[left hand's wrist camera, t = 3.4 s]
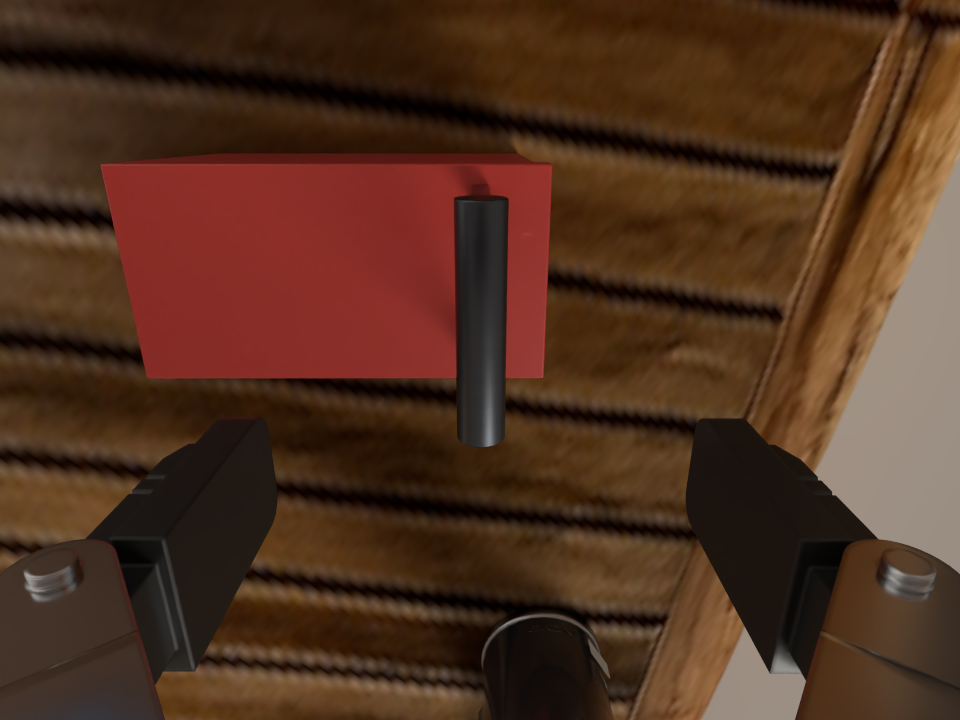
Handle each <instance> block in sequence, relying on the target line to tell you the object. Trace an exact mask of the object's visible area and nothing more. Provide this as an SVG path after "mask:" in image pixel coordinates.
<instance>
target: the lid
mask: <svg viewBox="0 0 960 720" xmlns="http://www.w3.org/2000/svg"><path fill="white" fill-rule="evenodd" d="M101 169H102V174H103V179H104V183H105V188H106V192H107V197H108V201H109V206H110V211H111V215H112V220H113V224H114V229H115V233H116V238H117V243H118V247H119V252H120V256H121V261H122V265H123V270H124V275H125V279H126V284H127V288H128V293H129V297H130V302H131V307H132V311H133V316H134V320H135V325H136V329H137V334H138V339H139V343H140V348H141V352H142V357H143V361H144V366H145V371H146V375H147V378H456V385H457V437H458V439H459V440H460V441H461V442H462V443H463V444H466V445H468V446H472V447H490V446H494V445H497V444H499V443H500V442H502V440H503V439H504V437H505V392H506V378H543V376H544V355H545V331H546V307H547V283H548V259H549V235H550V212H551V188H552V164H550V163H548V162H115V163H103V164H101Z"/></svg>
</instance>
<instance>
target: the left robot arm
mask: <svg viewBox="0 0 960 720" xmlns="http://www.w3.org/2000/svg"><path fill="white" fill-rule="evenodd" d="M132 491H133V492H132V494H128V495H127V496H126V498H125V499H124V500H123V501H122V502H121V503H120V504H119V505H118V506H117V507H116V508H115V509H114V510H113V511H112V512H111V513H110V514H109V515H108V516H107V517H106V518H105V519H104V520H103V521H102V522H101V523H100V524H99V525H98V526H97V527H96V529H95V530H94V531H93V532H92V533H91V534H90V535H89V536H88V537H87V538H86V539H80V540H72V541H67V542H62V543H59V544H55V545H52V546H49V547H46V548H43V549H41V550H38V551H36V552H34V553H32V554H30V555H28V556H26V557H24V558H22V559H20V560H19V561H17V562H16V563H14V564H13V565H11V566H10V567H8V568H7V569H6V570H5V571H3V572H2V573H1V574H0V720H165V719H164V715H163V712H162V708H161V705H160V701H159V698H158V694H157V691H156V687H155V684H156V683H157V681H158V679H159V678H160V676H161V674H162V672H163V671H195V670H196V668H197V666H198V664H199V662H200V660H201V659H202V657H203V655H204V653H205V651H206V649H207V647H208V645H209V643H210V641H211V640H212V638H213V636H214V634H215V632H216V630H217V628H218V626H219V624H220V623H221V621H222V619H223V617H224V615H225V613H226V611H227V609H228V607H229V606H230V604H231V602H232V600H233V598H234V596H235V594H236V592H237V590H238V588H239V587H240V585H241V583H242V581H243V579H244V577H245V575H246V573H247V571H248V570H249V568H250V566H251V564H252V562H253V560H254V558H255V556H256V554H257V553H258V551H259V549H260V547H261V545H262V543H263V541H264V539H265V537H266V535H267V534H268V532H269V530H270V528H271V526H272V524H273V521H274V518H275V514H276V508H277V487H276V480H275V473H274V466H273V459H272V452H271V445H270V438H269V432H268V427H267V424H266V422H265V420H264V419H263V418H219V419H218V420H216V422H215V423H214V424H213V425H212V426H211V427H210V428H209V429H208V430H207V431H206V433H205V434H204V435H203V436H202V437H201V438H200V439H199V440H198V441H197V442H196V443H195V444H188V445H186V446H184V447H183V448H181V449H179V450H177V451H176V452H174V453H172V454H170V455H169V456H167V457H165V458H163V459H162V460H161V461H160V462H159V463H158V464H157V465H156V467H155V468H154V469H153V470H152V471H151V472H150V473H149V474H148V475H147V478H146V479H143V480H142V481H141V482H140V483H139V484H138V485H137V486H136V487H135V488H134V489H133V490H132ZM686 509H687V515H688V519H689V522H690V525H691V527H692V529H693V531H694V532H695V534H696V536H697V538H698V540H699V542H700V544H701V546H702V547H703V549H704V551H705V553H706V555H707V557H708V559H709V561H710V562H711V564H712V566H713V568H714V570H715V572H716V574H717V575H718V577H719V579H720V581H721V583H722V585H723V587H724V589H725V590H726V592H727V594H728V596H729V598H730V600H731V602H732V604H733V605H734V607H735V609H736V611H737V613H738V615H739V617H740V618H741V620H742V622H743V624H744V626H745V628H746V630H747V631H748V633H749V635H750V637H751V639H752V641H753V643H754V645H755V646H756V648H757V650H758V652H759V654H760V656H761V658H762V660H763V661H764V663H765V665H766V667H767V669H768V671H769V673H770V674H802V675H803V676H804V678H805V680H806V684H805V687H804V691H803V694H802V698H801V701H800V705H799V708H798V712H797V715H796V719H795V720H960V574H959V573H958V572H957V571H955V570H954V569H953V568H951V567H950V566H949V565H947V564H946V563H944V562H943V561H941V560H940V559H938V558H936V557H934V556H932V555H930V554H928V553H926V552H924V551H922V550H919V549H917V548H914V547H911V546H908V545H905V544H901V543H897V542H893V541H888V540H879V539H878V538H877V537H876V536H875V535H874V534H873V533H872V532H871V531H870V530H869V529H868V528H867V527H866V526H865V525H864V524H863V523H862V522H861V521H860V520H859V519H858V518H857V517H856V516H855V515H854V514H853V513H852V512H851V511H850V510H849V509H848V508H847V507H846V505H845V504H843V502H842V501H841V500H840V499H839V498H838V497H837V496H834V495H832V491H831V490H830V489H829V488H828V487H827V486H826V485H825V484H824V483H823V482H822V481H818V477H817V476H816V475H815V474H814V473H813V472H812V471H811V470H810V469H809V468H808V467H807V466H806V465H805V464H804V462H803V461H802V460H800V459H799V458H797V457H795V456H793V455H792V454H790V453H788V452H786V451H785V450H783V449H781V448H779V447H778V446H776V445H768V444H767V442H766V441H765V440H764V439H763V438H762V437H761V436H760V435H759V434H758V433H757V432H756V430H755V429H754V428H753V427H752V426H751V425H750V424H749V423H748V422H747V421H746V420H745V419H700V420H699V422H698V423H697V426H696V429H695V434H694V441H693V448H692V454H691V461H690V468H689V475H688V482H687V489H686ZM481 661H482V670H483V706H482V708H481V710H480V711H479V713H478V720H614V719H613V714H612V710H611V705H610V701H609V697H608V692H607V687H606V683H605V678H604V674H603V670H604V671H605V673H606V674H607V675H608V677H609V678H610V676H609V672H608V668H607V664H606V662H605V661H604V660H603V658H602V657H601V656H600V650H599V646H598V642H597V639H596V637H595V634H594V633H593V631H592V630H591V629H590V627H589V626H588V625H587V624H586V623H585V622H583V621H582V620H581V619H579V618H578V617H576V616H574V615H572V614H570V613H567V612H564V611H561V610H556V609H549V608H536V609H528V610H524V611H520V612H517V613H514V614H512V615H510V616H508V617H506V618H504V619H503V620H501V621H500V622H498V623H497V624H496V625H495V626H494V627H493V628H492V629H491V630H490V631H489V633H488V634H487V636H486V638H485V640H484V643H483V646H482V652H481ZM602 669H603V670H602Z"/></svg>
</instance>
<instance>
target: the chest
mask: <svg viewBox="0 0 960 720" xmlns="http://www.w3.org/2000/svg"><path fill="white" fill-rule="evenodd" d="M126 162H532V161H530V160H528V159H526V158H525V157H523V156H521V155H519V154H518V153H219V154H208V155H196V156H185V157H173V158H161V159H150V160H138V161H126Z"/></svg>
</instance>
